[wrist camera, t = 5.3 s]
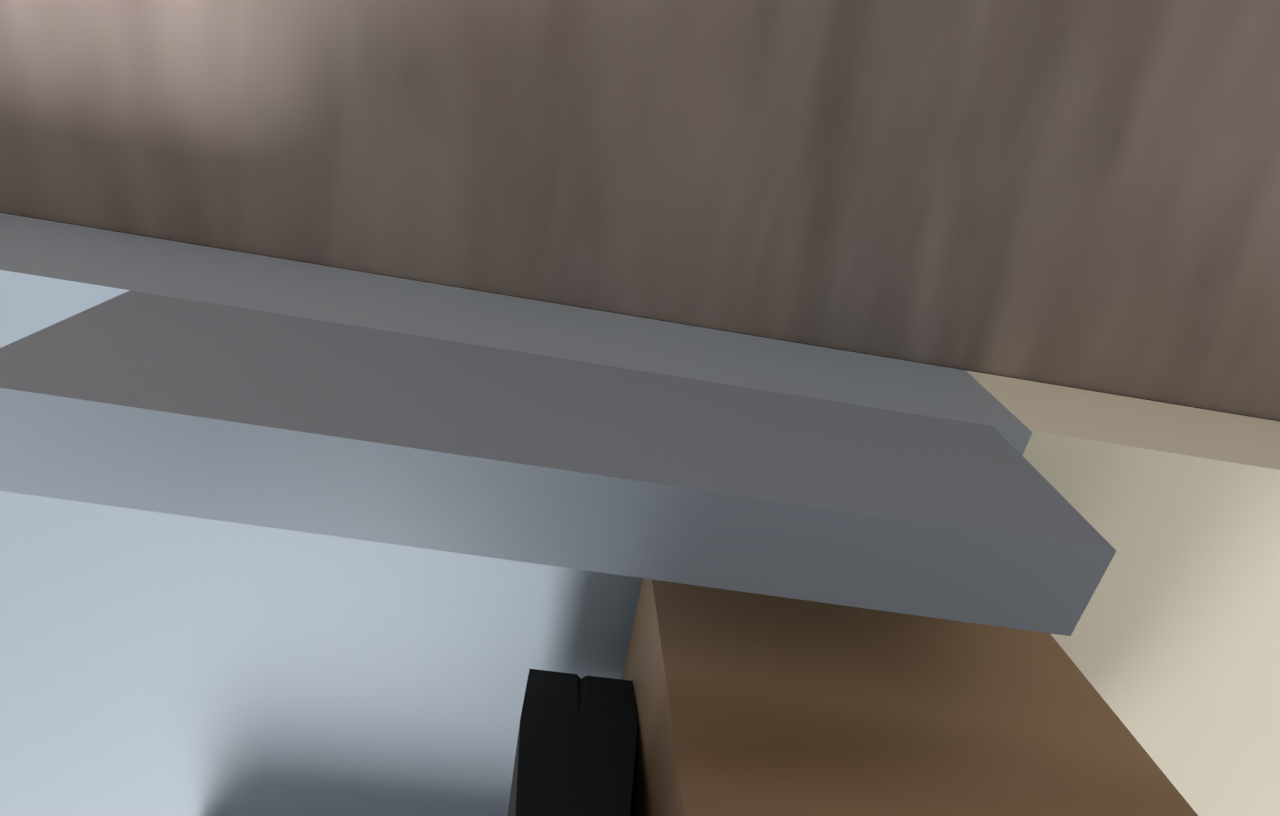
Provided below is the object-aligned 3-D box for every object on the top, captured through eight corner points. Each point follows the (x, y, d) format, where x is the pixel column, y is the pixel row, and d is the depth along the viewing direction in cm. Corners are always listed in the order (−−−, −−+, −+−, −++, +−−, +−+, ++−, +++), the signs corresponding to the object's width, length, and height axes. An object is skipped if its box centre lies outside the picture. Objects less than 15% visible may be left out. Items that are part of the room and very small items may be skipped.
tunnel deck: (1499, 902, 16) (1794, 1187, 12) (-192, 713, 13) (-553, 996, 9) (1905, 524, 12) (2566, 761, 8) (-430, 142, 9) (-1262, 203, 5)
